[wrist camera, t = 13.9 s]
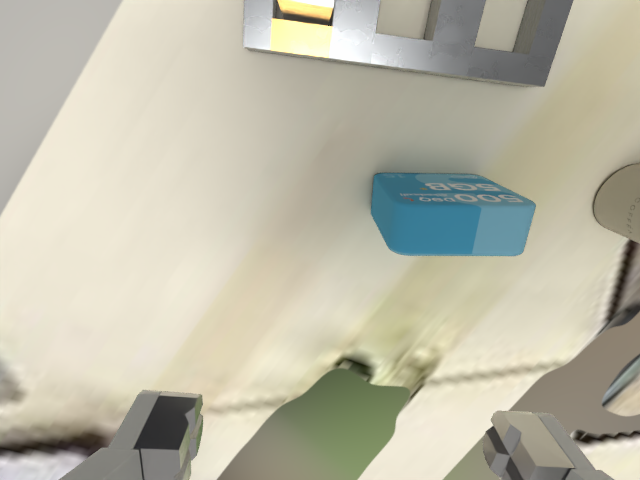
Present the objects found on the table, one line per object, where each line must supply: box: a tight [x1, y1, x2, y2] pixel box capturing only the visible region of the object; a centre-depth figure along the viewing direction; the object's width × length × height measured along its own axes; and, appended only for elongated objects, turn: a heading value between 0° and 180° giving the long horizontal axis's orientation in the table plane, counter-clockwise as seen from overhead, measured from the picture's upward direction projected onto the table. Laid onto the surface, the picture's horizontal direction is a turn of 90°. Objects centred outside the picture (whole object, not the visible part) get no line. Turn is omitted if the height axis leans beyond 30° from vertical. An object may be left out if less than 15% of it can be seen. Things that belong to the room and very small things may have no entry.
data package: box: [371, 173, 536, 256], centre depth 34 cm, size 12×4×12 cm, turn 89°
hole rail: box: [243, 0, 573, 87], centre depth 31 cm, size 28×10×3 cm, turn 83°
